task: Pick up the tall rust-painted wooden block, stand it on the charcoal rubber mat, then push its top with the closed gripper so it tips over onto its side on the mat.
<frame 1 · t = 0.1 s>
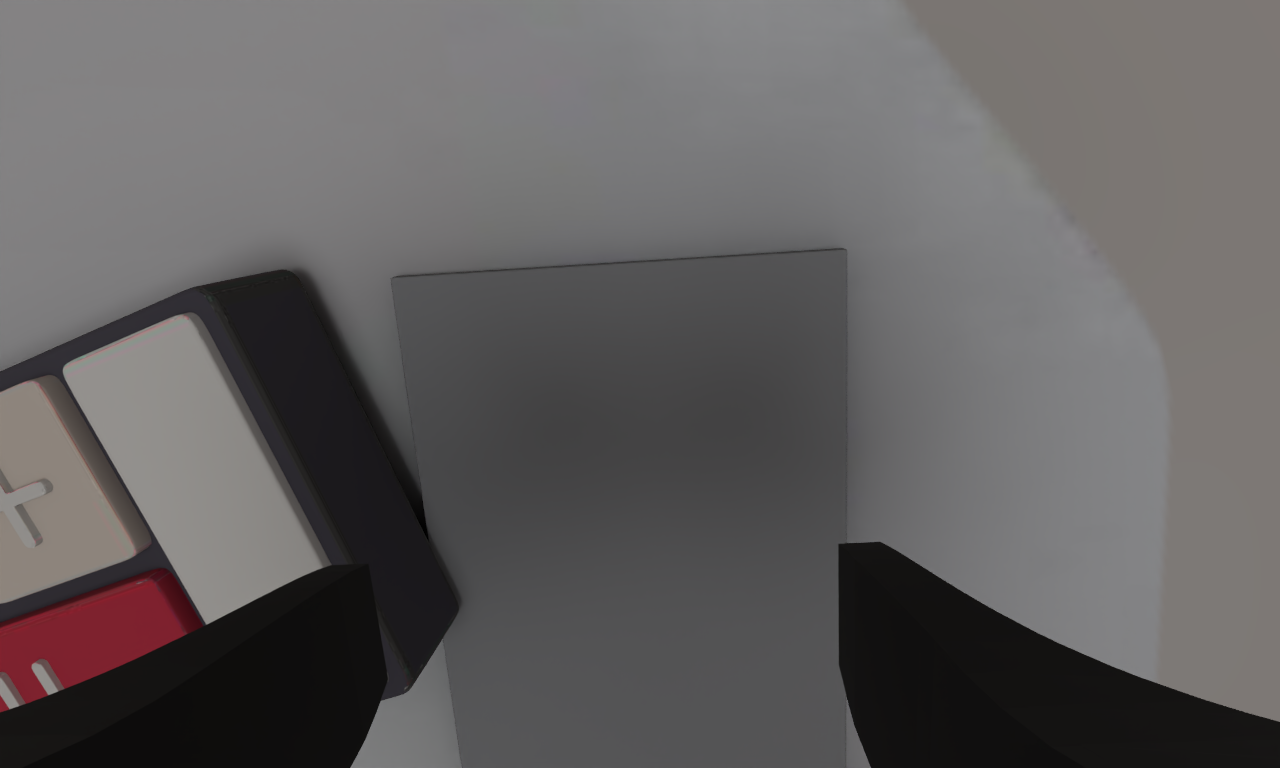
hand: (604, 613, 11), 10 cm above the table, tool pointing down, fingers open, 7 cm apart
calculator: (169, 525, 22), on the table, touching mat
mat: (638, 567, 22), on the table
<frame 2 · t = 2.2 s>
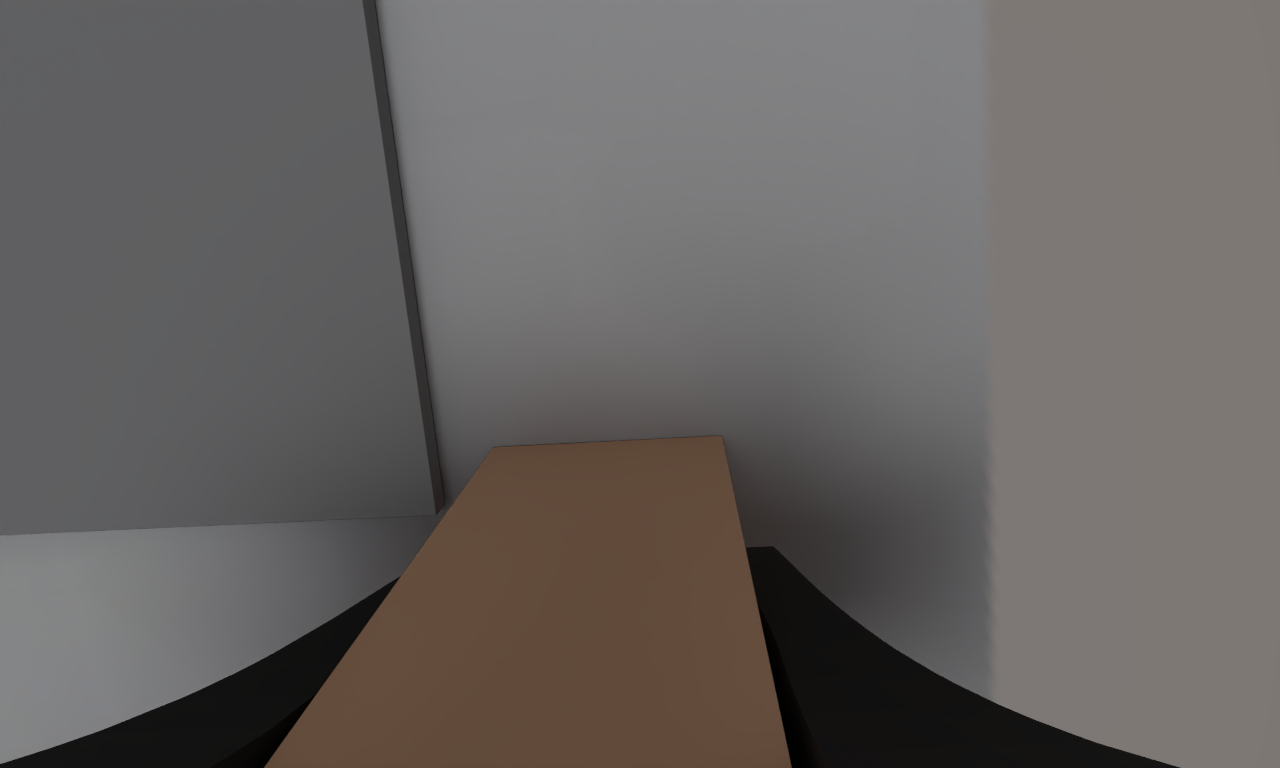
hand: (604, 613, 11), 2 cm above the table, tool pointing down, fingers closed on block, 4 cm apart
block: (615, 546, 13), on the table, touching gripper
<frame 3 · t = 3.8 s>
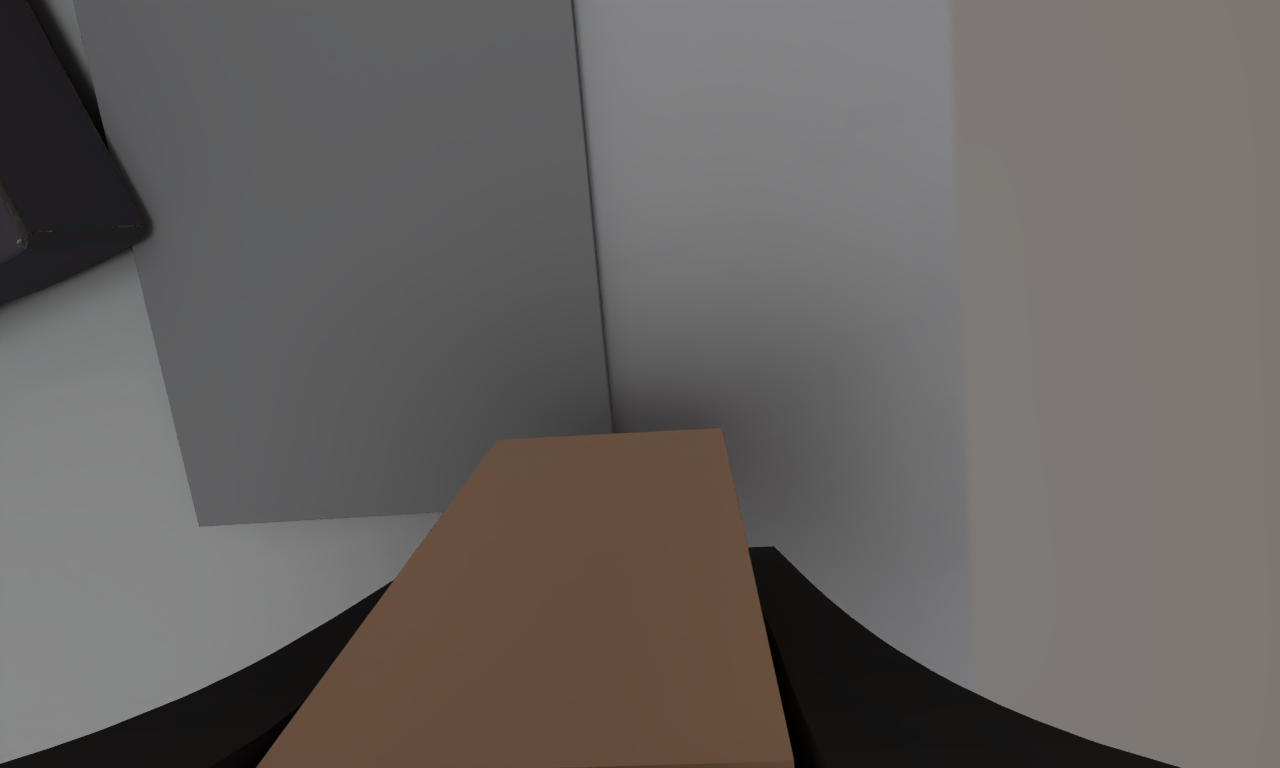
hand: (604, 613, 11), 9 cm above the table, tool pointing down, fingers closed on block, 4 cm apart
mat: (357, 182, 19), on the table
block: (617, 537, 14), point 7 cm above the table, touching gripper
when the fingers open (4 cm above the table, at t = 5.7 s): block stays where it is, resting on mat.
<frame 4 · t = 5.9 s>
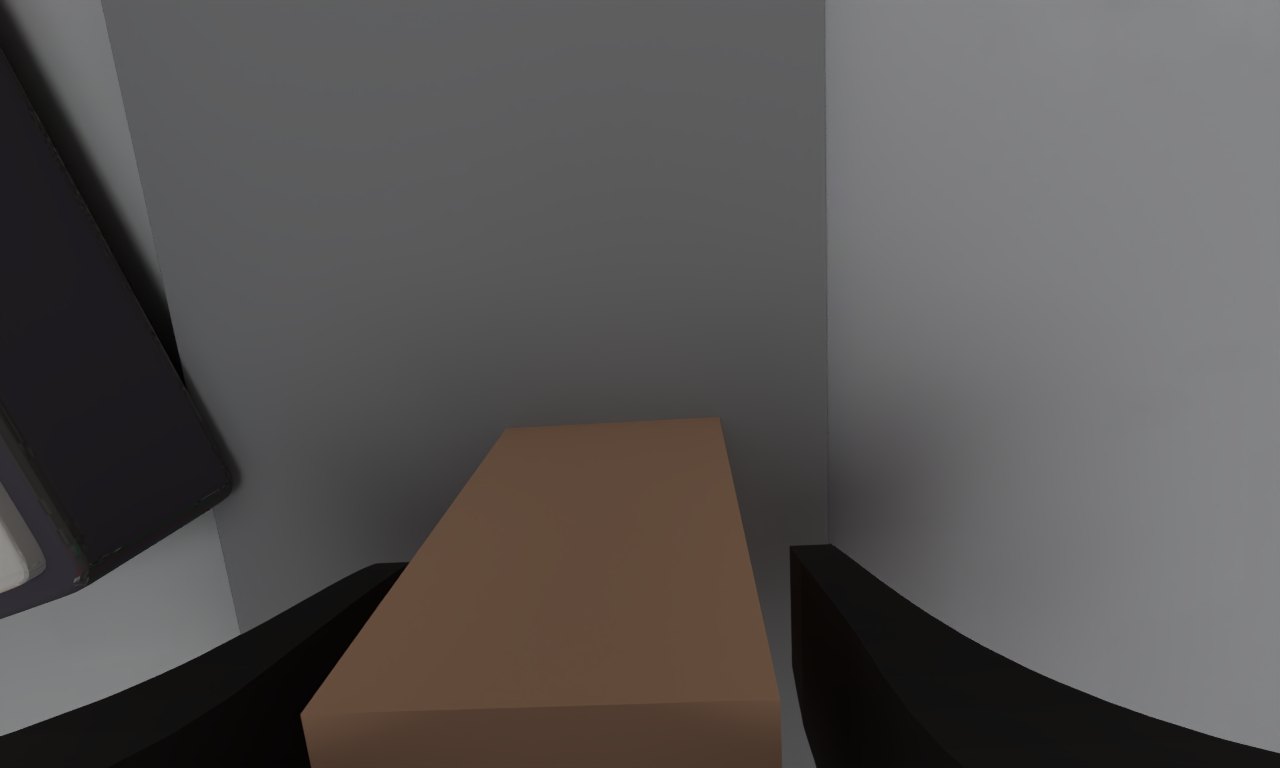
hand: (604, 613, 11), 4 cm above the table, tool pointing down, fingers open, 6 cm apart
mat: (511, 422, 14), on the table
block: (619, 521, 14), resting on mat
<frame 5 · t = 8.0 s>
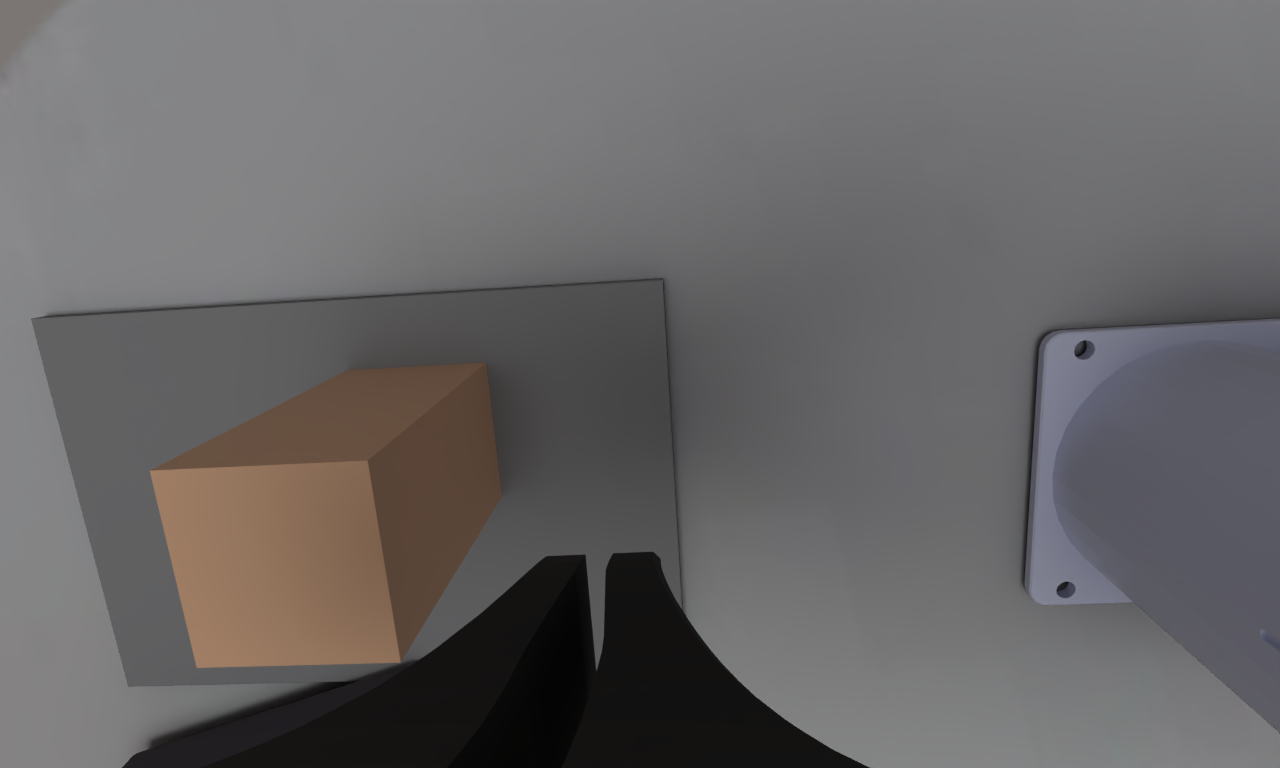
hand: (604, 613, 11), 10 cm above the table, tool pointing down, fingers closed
mat: (377, 495, 22), on the table
block: (425, 434, 21), resting on mat
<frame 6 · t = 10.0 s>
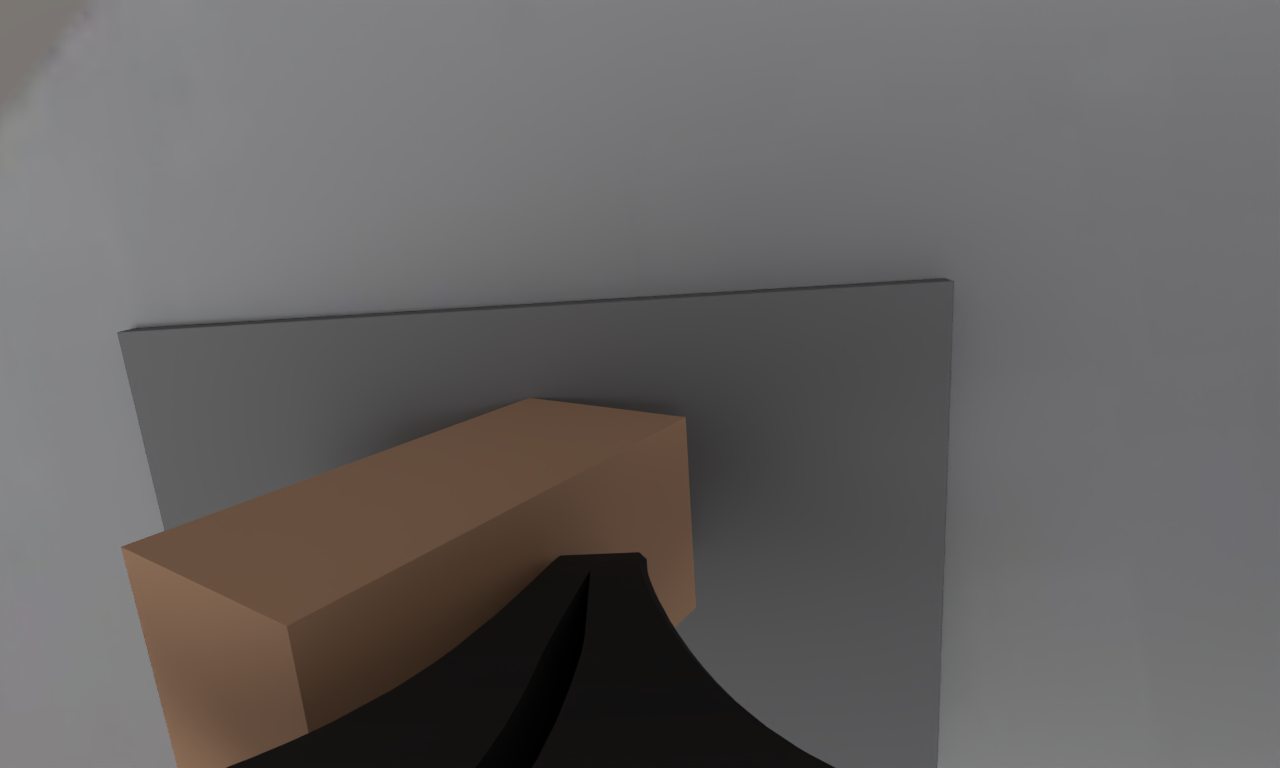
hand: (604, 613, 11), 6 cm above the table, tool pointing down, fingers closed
mat: (552, 554, 18), on the table
block: (609, 498, 16), point 2 cm above the table, tilted 32°, touching mat
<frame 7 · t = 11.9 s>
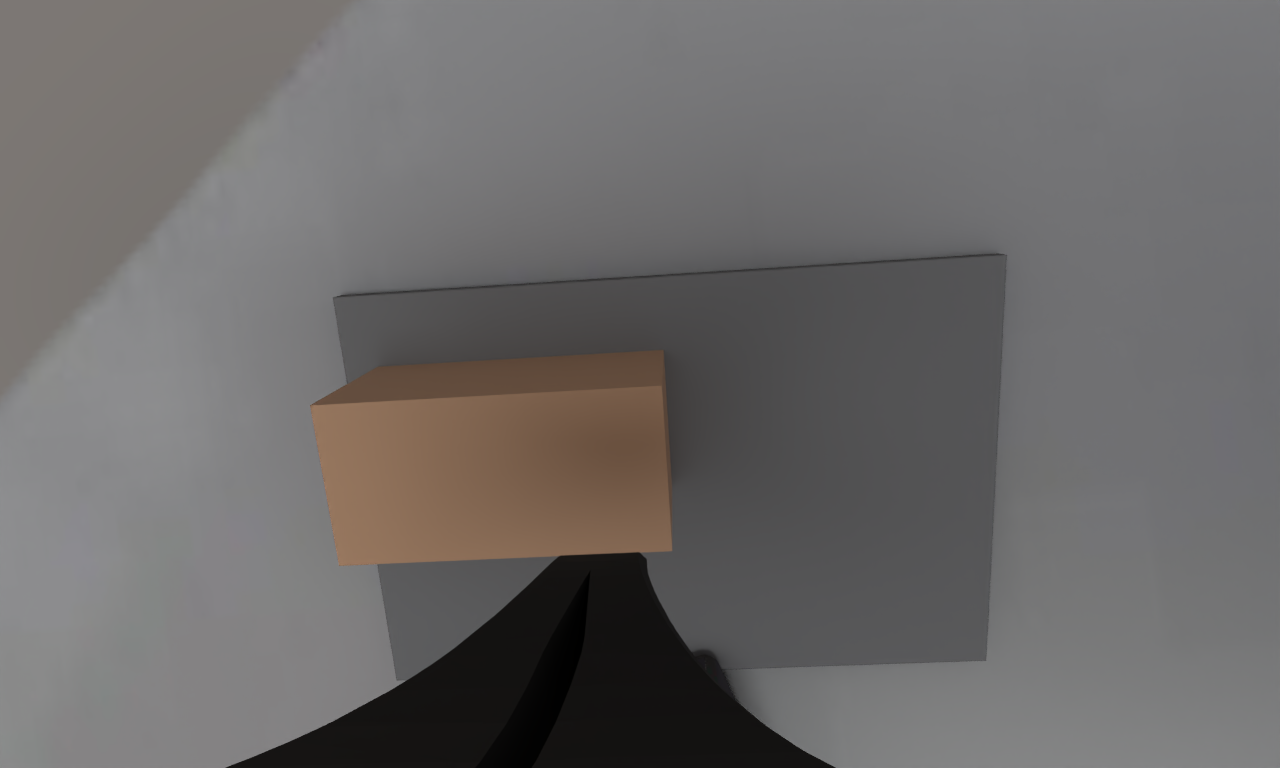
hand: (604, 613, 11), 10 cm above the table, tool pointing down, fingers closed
mat: (673, 480, 22), on the table
block: (667, 442, 19), point 2 cm above the table, tilted 90°, touching mat
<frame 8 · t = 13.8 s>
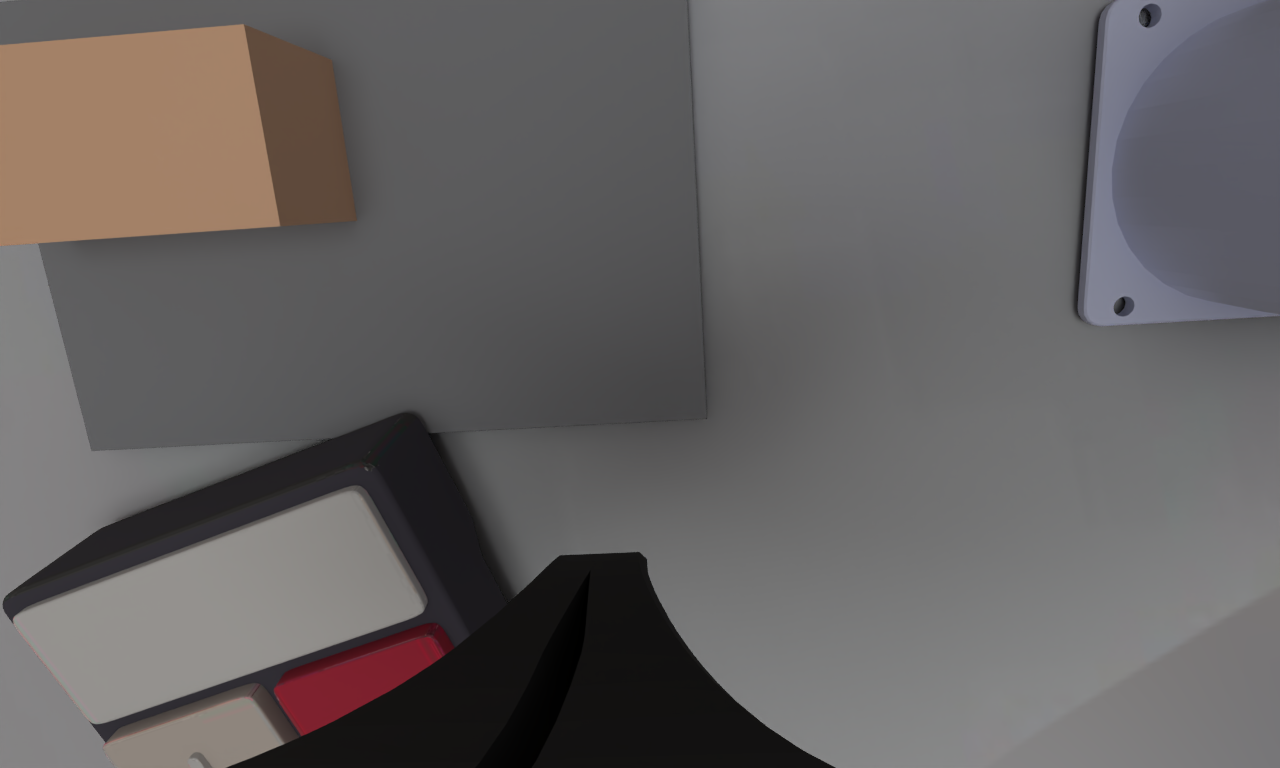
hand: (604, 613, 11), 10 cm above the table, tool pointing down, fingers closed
calculator: (371, 672, 24), on the table, touching mat
mat: (366, 220, 20), on the table
block: (308, 136, 17), point 2 cm above the table, tilted 90°, touching mat
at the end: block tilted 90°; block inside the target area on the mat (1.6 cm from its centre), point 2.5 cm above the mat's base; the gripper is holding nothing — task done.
